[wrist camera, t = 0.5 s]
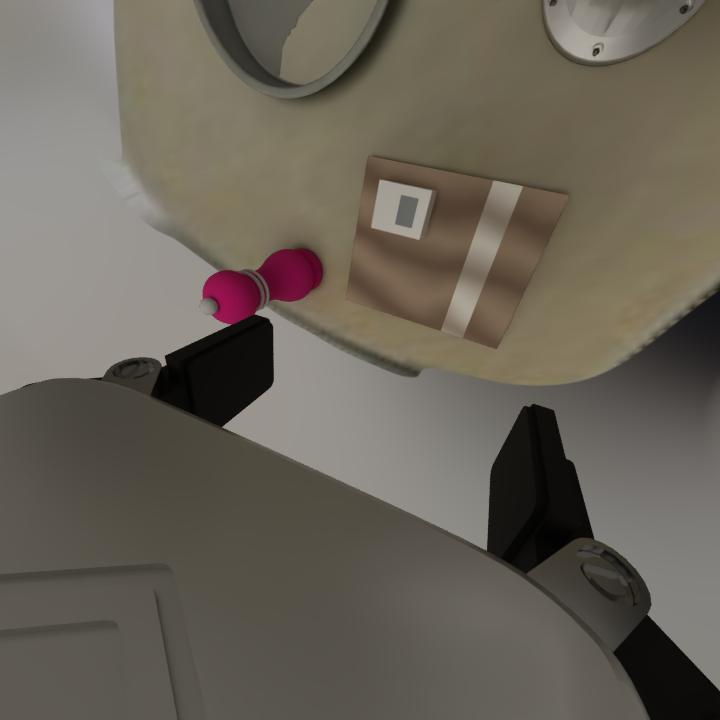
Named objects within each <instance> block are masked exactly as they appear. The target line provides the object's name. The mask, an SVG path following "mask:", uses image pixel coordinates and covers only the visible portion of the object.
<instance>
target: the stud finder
mask: <svg viewBox="0 0 720 720" xmlns="http://www.w3.org/2000/svg"><path fill="white" fill-rule="evenodd" d="M436 194H437V191H435V190H431V189H426V188H421V187H417V186H412V185H407V184H403V183H398V182H393V181H388V180H379V186H378V192H377V197H376V203H375V208H374V214H373V220H372V225H371V228H375V229H379V230H382V231H386V232H390V233H394V234H398V235H402V236H406V237H410V238H414V239H417V240H420V239H422V238H424V237H425V235H426V231H427V227H428V224H429V220H430V216H431V213H432V209H433V205H434V202H435V198H436Z"/></svg>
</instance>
